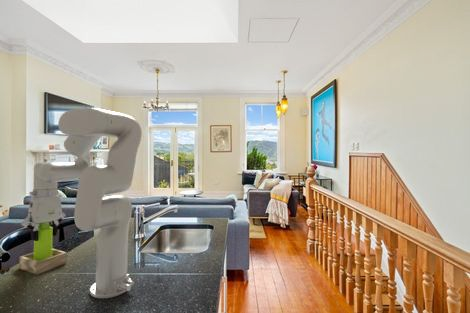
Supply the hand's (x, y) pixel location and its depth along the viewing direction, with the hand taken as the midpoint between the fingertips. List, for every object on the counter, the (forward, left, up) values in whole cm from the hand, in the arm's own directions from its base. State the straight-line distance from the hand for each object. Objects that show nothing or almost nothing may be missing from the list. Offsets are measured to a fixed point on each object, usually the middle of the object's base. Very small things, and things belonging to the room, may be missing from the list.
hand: (44, 237), depth 95 cm
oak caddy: (0, 0, -11) cm, 11 cm away
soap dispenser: (0, 0, -10) cm, 10 cm away
